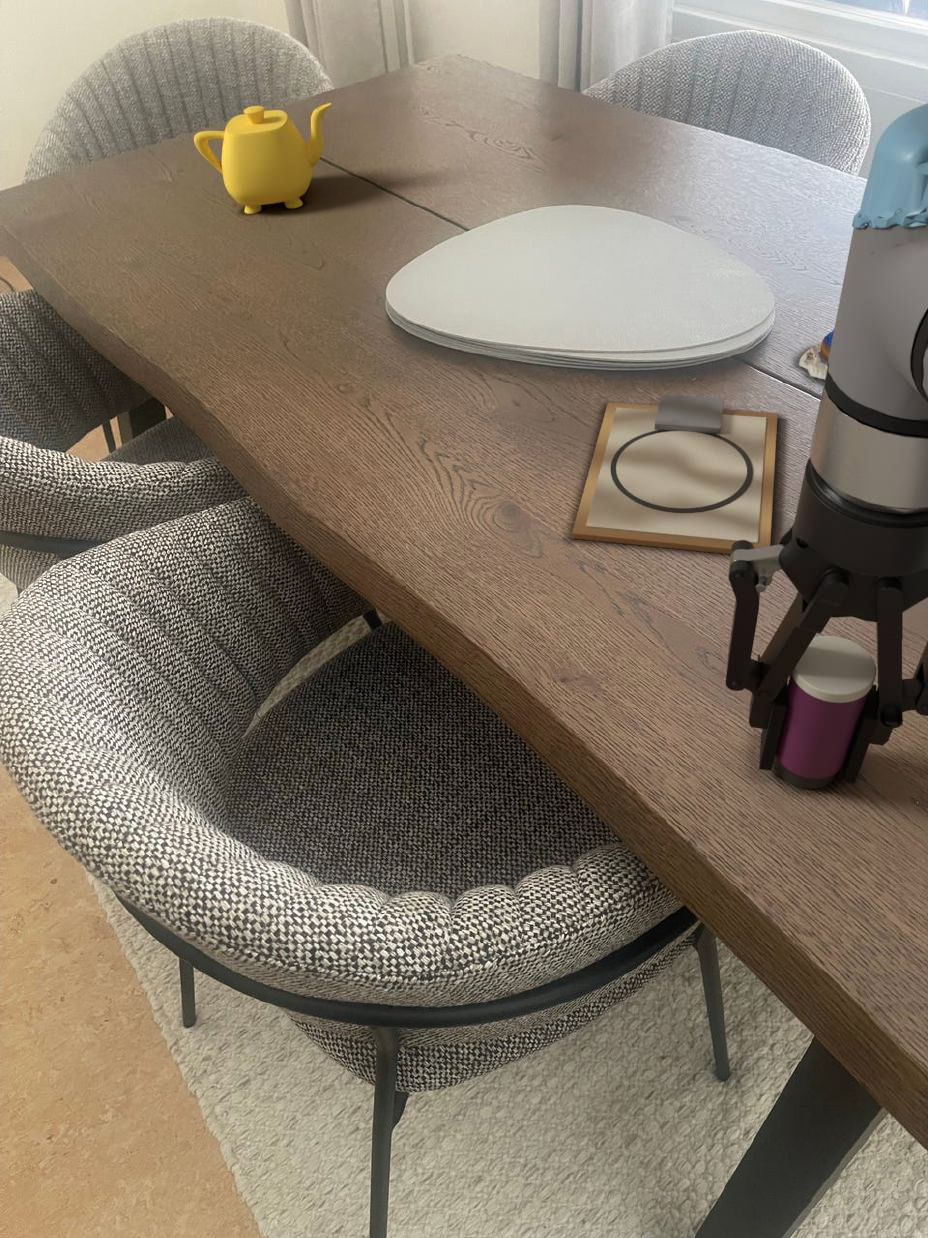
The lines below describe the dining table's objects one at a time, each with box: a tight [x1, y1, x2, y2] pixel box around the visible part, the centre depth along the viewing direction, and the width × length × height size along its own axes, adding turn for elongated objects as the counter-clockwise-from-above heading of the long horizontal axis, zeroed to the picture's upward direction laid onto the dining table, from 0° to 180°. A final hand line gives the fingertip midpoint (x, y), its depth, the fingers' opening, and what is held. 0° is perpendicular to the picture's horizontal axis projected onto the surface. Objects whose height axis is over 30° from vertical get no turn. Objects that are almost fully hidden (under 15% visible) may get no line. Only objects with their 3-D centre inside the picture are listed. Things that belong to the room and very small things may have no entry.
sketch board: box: [571, 394, 779, 555], centre depth 83 cm, size 21×16×1 cm
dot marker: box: [774, 635, 877, 790], centre depth 58 cm, size 5×5×10 cm
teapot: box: [193, 102, 332, 215], centre depth 134 cm, size 13×20×12 cm
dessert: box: [798, 329, 834, 381], centre depth 93 cm, size 8×7×6 cm
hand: (806, 758), depth 61 cm, fingers closed on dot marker, 4 cm apart
